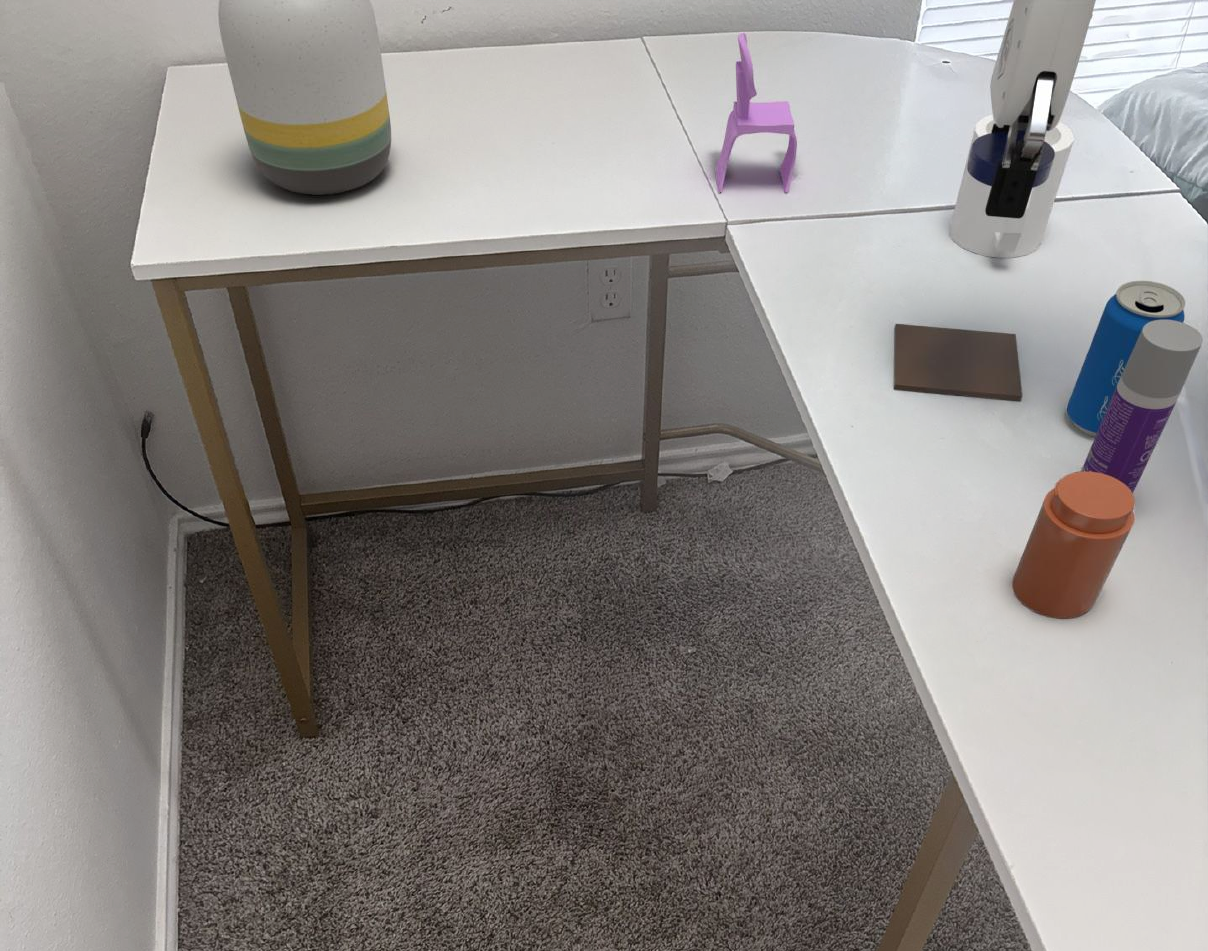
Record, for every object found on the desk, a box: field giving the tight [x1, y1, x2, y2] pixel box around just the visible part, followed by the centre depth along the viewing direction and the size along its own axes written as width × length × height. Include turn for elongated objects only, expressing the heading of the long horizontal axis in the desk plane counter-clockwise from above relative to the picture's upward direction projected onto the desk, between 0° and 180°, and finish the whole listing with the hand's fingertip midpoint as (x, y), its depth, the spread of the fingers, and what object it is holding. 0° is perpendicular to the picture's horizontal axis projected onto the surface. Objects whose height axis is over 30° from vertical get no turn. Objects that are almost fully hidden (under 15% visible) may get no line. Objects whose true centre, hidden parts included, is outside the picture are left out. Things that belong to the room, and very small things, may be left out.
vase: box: [217, 0, 392, 196], centre depth 122 cm, size 17×17×24 cm
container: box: [1080, 320, 1204, 494], centre depth 89 cm, size 5×5×15 cm
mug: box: [949, 113, 1075, 259], centre depth 118 cm, size 14×10×11 cm
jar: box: [1011, 471, 1136, 619], centre depth 84 cm, size 7×7×9 cm
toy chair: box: [714, 32, 798, 194], centre depth 125 cm, size 8×9×15 cm
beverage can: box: [1065, 280, 1186, 438], centre depth 97 cm, size 6×6×12 cm
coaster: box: [893, 323, 1023, 402], centre depth 107 cm, size 12×11×1 cm
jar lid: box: [967, 132, 1055, 188], centre depth 93 cm, size 7×7×2 cm
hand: (1001, 193), depth 95 cm, fingers closed on jar lid, 6 cm apart
